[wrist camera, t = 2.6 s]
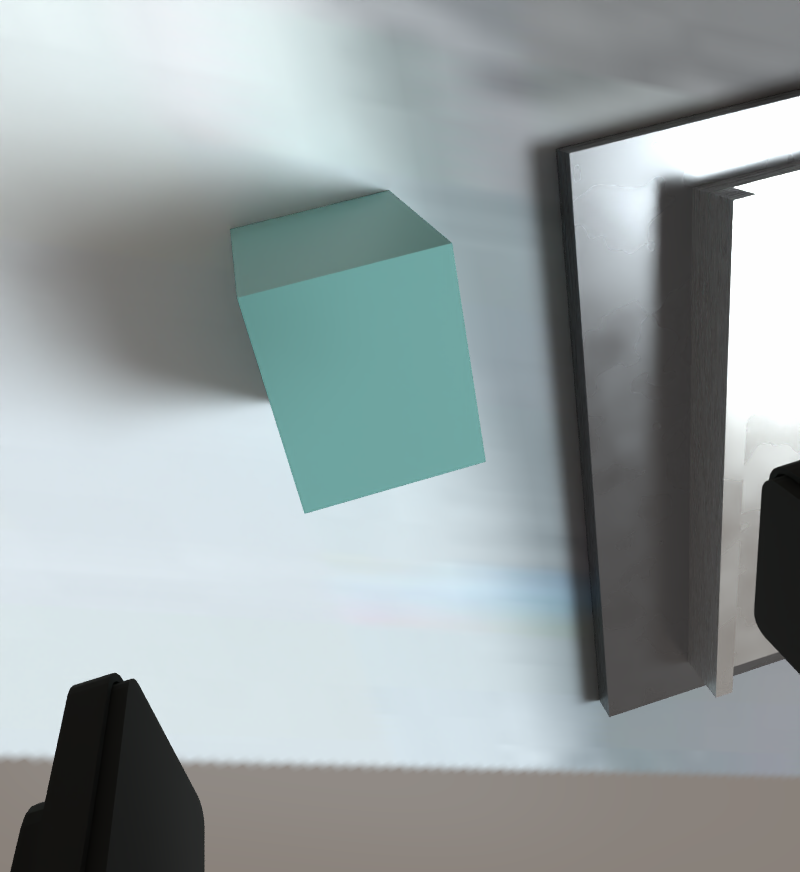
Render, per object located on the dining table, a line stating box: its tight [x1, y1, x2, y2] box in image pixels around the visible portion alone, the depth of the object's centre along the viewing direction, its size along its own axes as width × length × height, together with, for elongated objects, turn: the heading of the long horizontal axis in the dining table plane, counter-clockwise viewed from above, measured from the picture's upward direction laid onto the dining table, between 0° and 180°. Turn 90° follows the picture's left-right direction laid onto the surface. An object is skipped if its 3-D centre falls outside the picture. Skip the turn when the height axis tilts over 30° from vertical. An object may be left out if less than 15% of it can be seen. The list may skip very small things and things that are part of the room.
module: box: [230, 190, 486, 513], centre depth 21 cm, size 6×5×7 cm
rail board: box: [556, 89, 800, 717], centre depth 29 cm, size 26×16×3 cm, turn 11°
